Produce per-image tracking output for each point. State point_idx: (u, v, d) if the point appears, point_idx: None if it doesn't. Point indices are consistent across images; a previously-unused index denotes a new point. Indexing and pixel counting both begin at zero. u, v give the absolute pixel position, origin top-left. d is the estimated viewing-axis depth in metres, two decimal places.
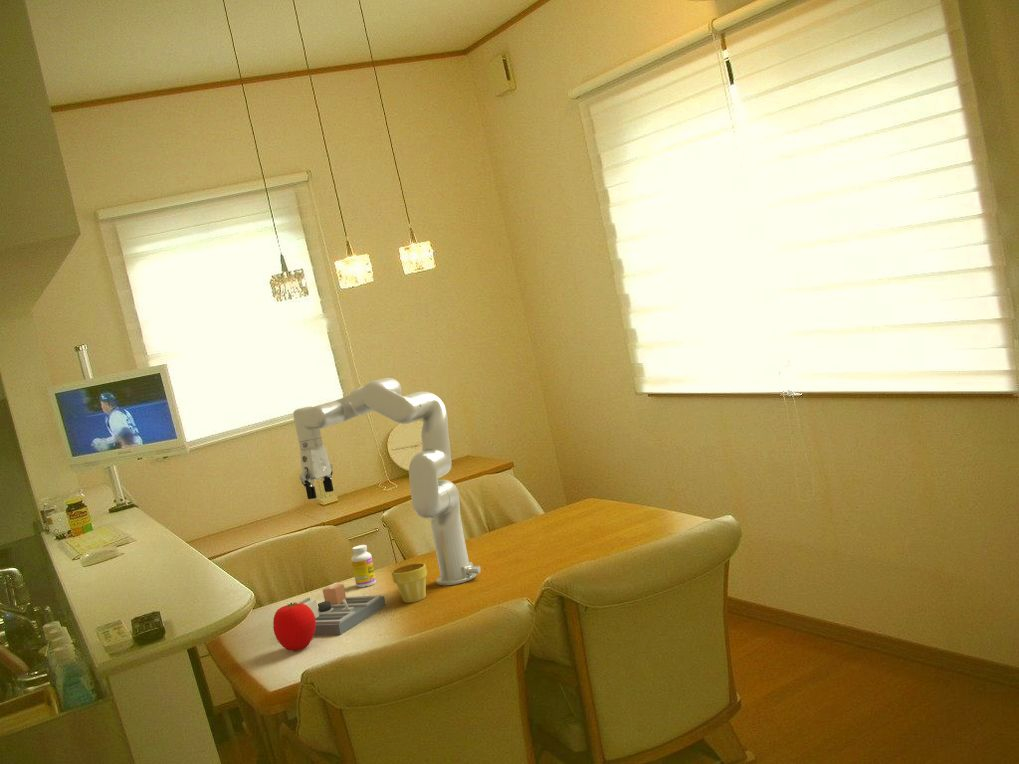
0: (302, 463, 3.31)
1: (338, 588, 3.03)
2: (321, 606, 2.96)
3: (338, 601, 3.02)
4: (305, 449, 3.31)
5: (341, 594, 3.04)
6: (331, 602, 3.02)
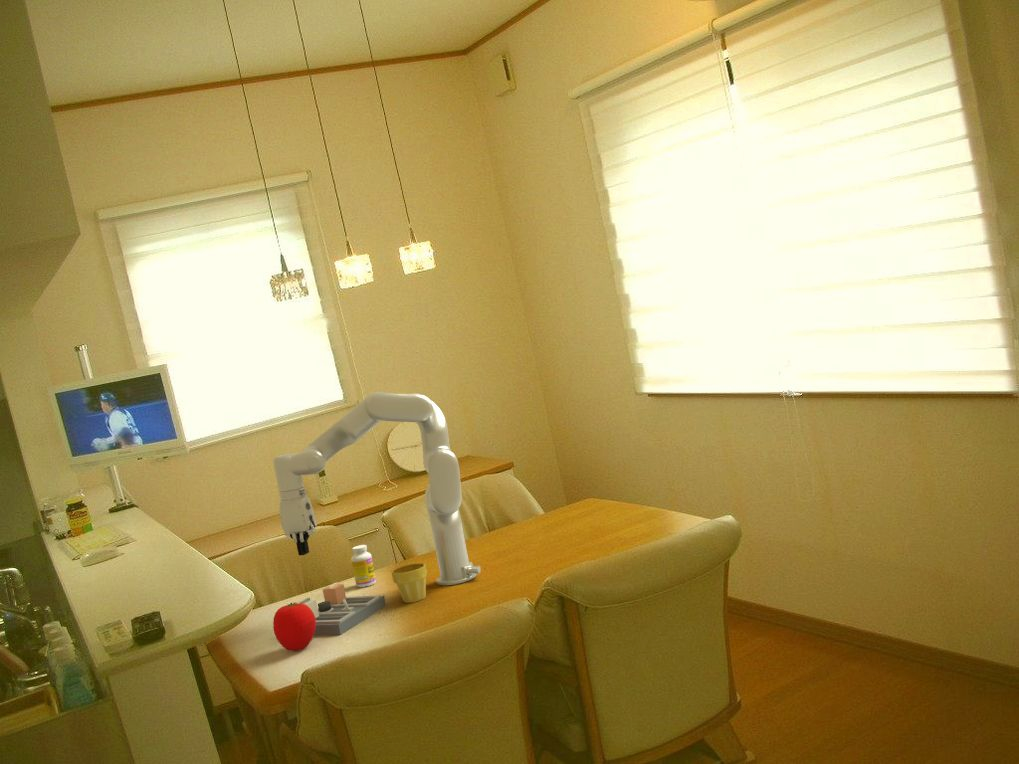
0: (306, 511, 3.03)
1: (338, 588, 3.03)
2: (321, 606, 2.96)
3: (338, 601, 3.02)
4: (303, 496, 3.04)
5: (341, 594, 3.04)
6: (331, 602, 3.02)
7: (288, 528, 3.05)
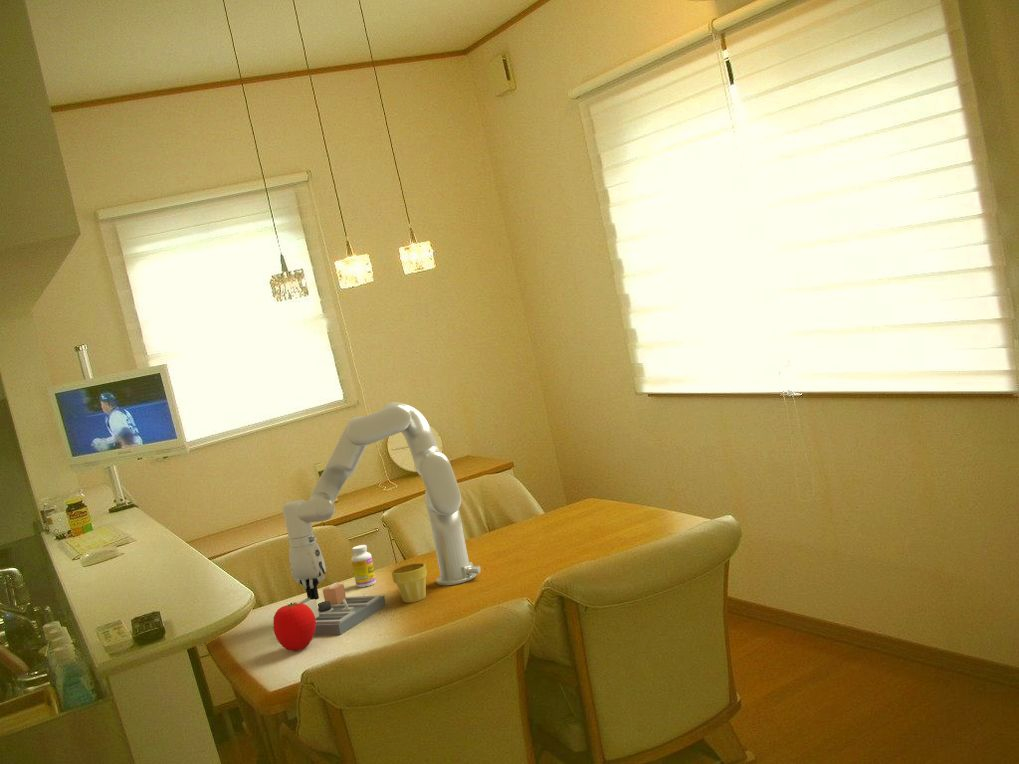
0: (316, 558, 3.04)
1: (338, 588, 3.03)
2: (321, 606, 2.96)
3: (338, 601, 3.02)
4: (313, 543, 3.05)
5: (341, 594, 3.04)
6: (331, 602, 3.02)
7: (297, 574, 3.06)
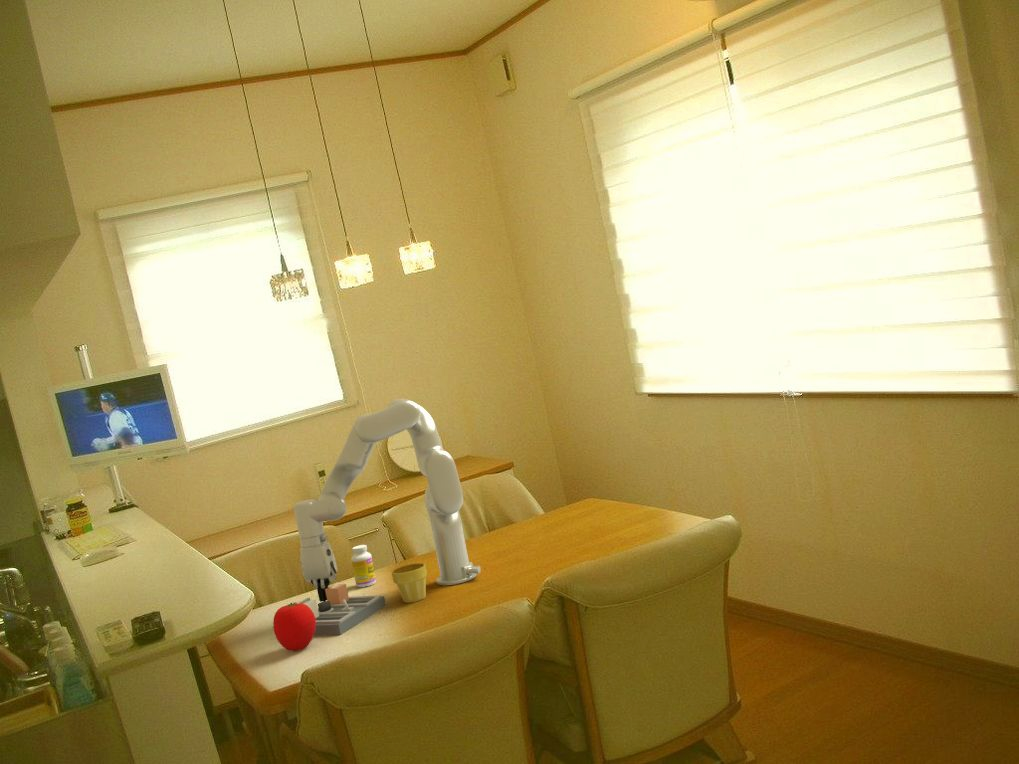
0: (327, 558, 3.02)
1: (341, 588, 3.02)
2: (321, 606, 2.96)
3: (340, 601, 3.01)
4: (324, 543, 3.03)
5: (344, 594, 3.03)
6: (334, 602, 3.02)
7: (309, 574, 3.04)
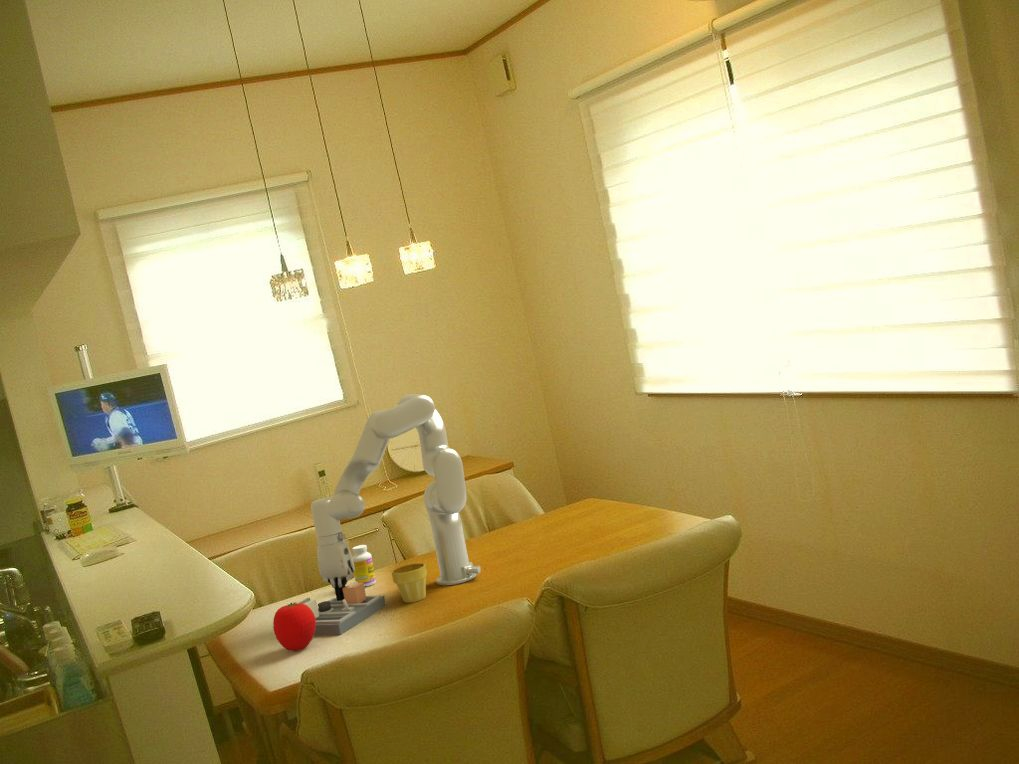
0: (344, 557, 2.99)
1: (358, 587, 2.99)
2: (321, 606, 2.96)
3: (358, 600, 2.99)
4: (341, 541, 3.01)
5: (361, 593, 3.00)
6: (351, 601, 2.99)
7: (326, 573, 3.02)
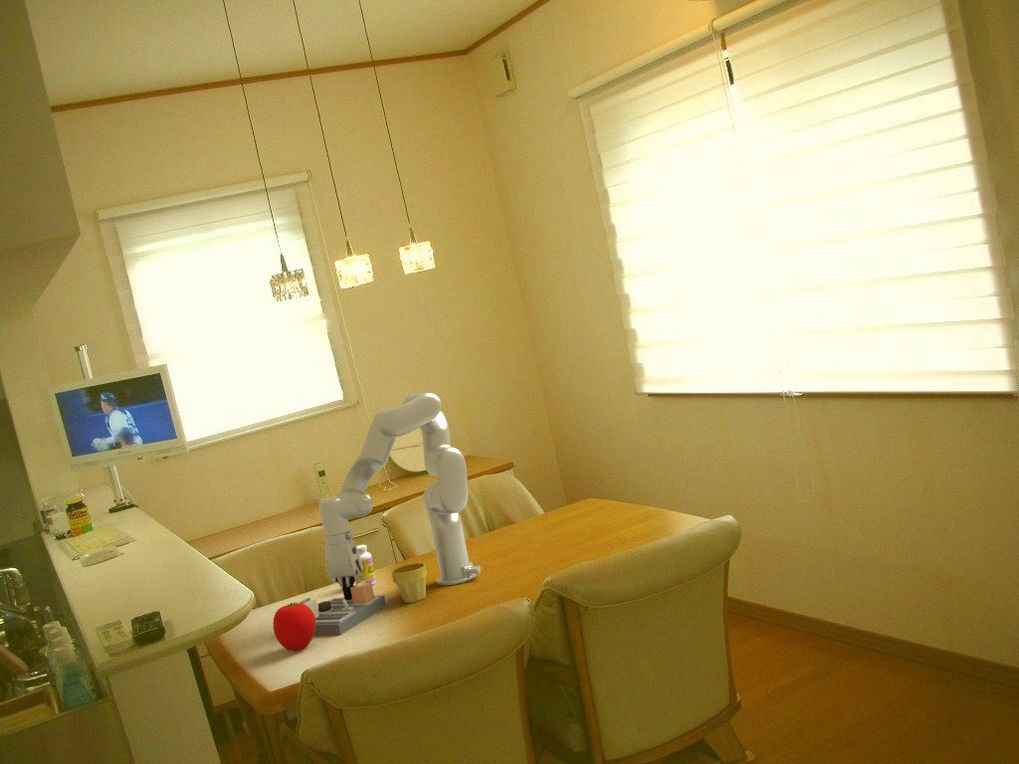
0: (352, 556, 2.98)
1: (366, 586, 2.98)
2: (321, 606, 2.96)
3: (366, 600, 2.97)
4: (349, 540, 2.99)
5: (369, 593, 2.99)
6: (359, 601, 2.98)
7: (334, 572, 3.00)
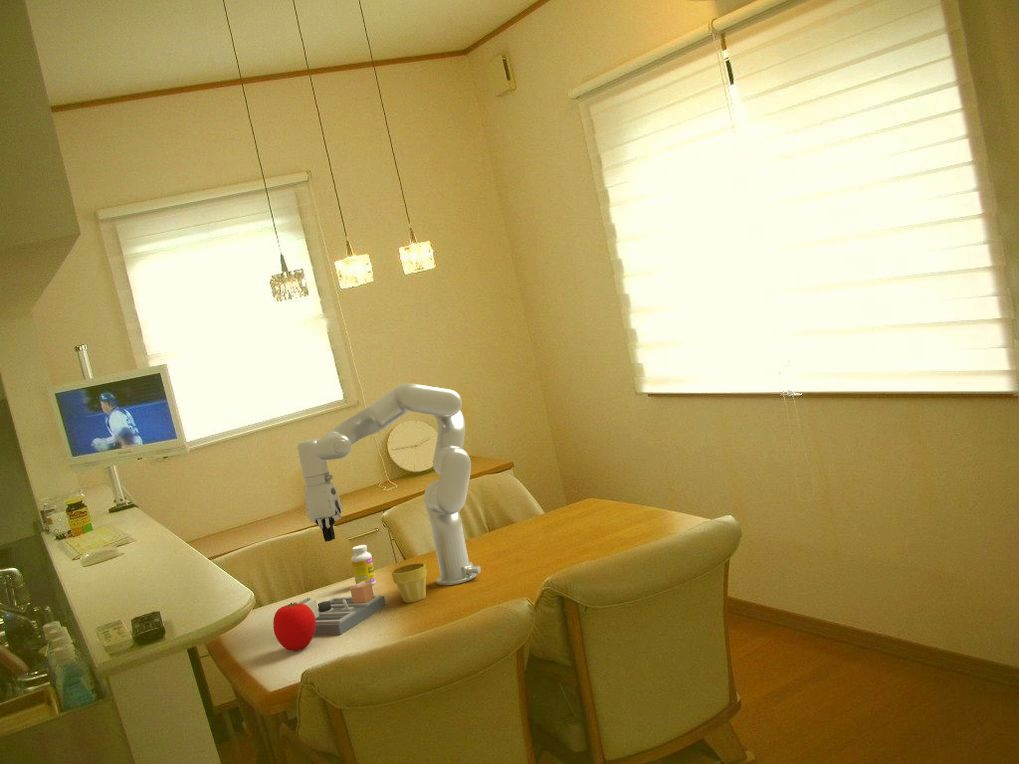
0: (332, 497, 3.00)
1: (366, 586, 2.98)
2: (321, 606, 2.96)
3: (366, 600, 2.97)
4: (328, 482, 3.01)
5: (369, 593, 2.99)
6: (359, 601, 2.98)
7: (313, 514, 3.02)
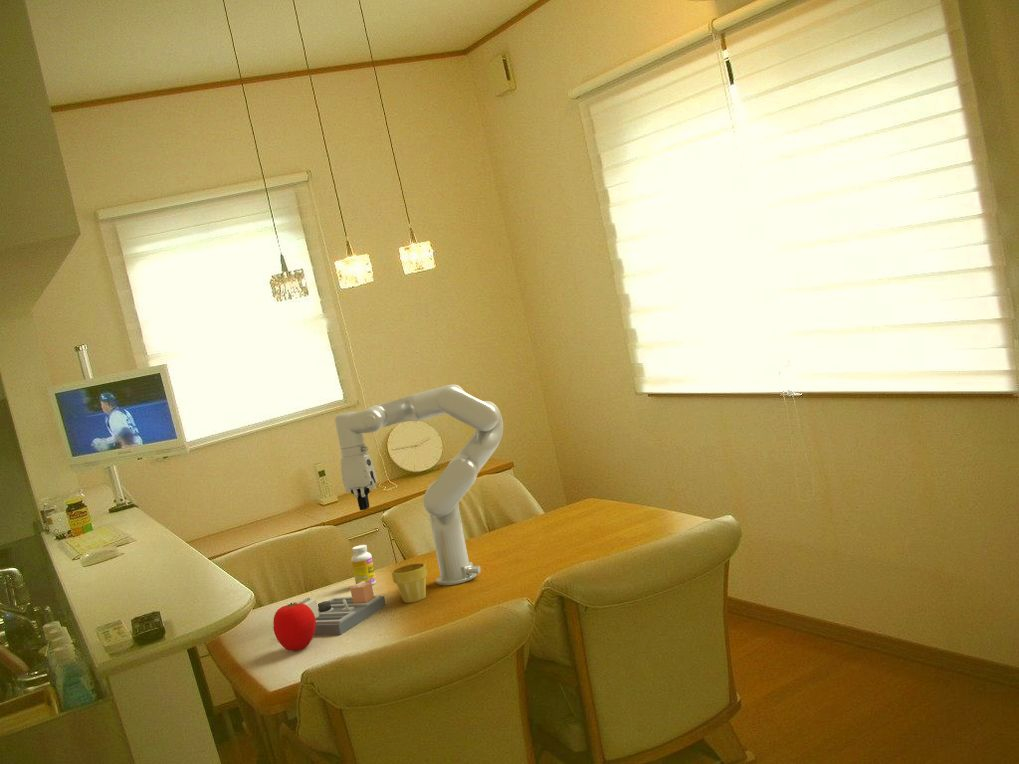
0: (367, 467, 3.13)
1: (366, 586, 2.98)
2: (321, 606, 2.96)
3: (366, 600, 2.97)
4: (364, 453, 3.15)
5: (369, 593, 2.99)
6: (359, 601, 2.98)
7: (349, 484, 3.16)
